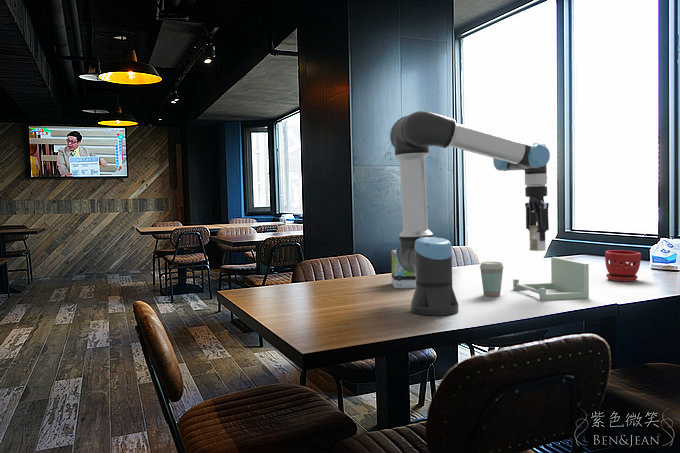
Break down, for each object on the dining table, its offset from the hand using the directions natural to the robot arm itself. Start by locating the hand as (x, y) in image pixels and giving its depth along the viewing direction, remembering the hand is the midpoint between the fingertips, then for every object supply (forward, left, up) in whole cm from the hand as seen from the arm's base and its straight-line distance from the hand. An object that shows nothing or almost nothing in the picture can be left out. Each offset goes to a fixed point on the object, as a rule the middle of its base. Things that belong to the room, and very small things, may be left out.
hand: (537, 249), depth 196 cm
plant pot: (+47, +21, -17) cm, 54 cm away
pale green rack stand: (+4, 0, -17) cm, 17 cm away
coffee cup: (-17, +2, -17) cm, 24 cm away
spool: (0, 0, 0) cm, 0 cm away
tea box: (-43, +32, -17) cm, 56 cm away
